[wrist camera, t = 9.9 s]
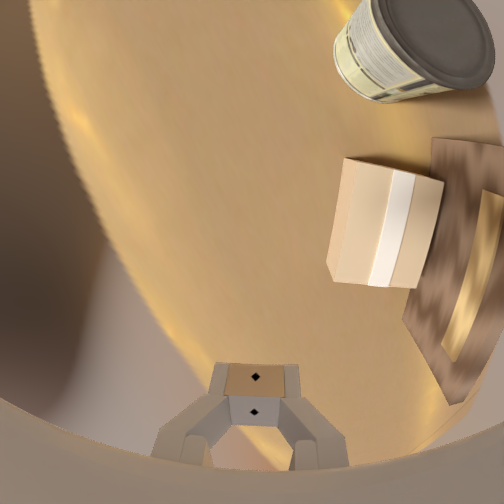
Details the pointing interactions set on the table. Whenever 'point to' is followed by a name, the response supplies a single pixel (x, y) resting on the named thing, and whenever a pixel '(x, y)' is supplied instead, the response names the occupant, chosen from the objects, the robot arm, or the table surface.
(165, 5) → the table surface
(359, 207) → the carton
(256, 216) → the table surface
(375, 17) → the coffee can
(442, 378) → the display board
